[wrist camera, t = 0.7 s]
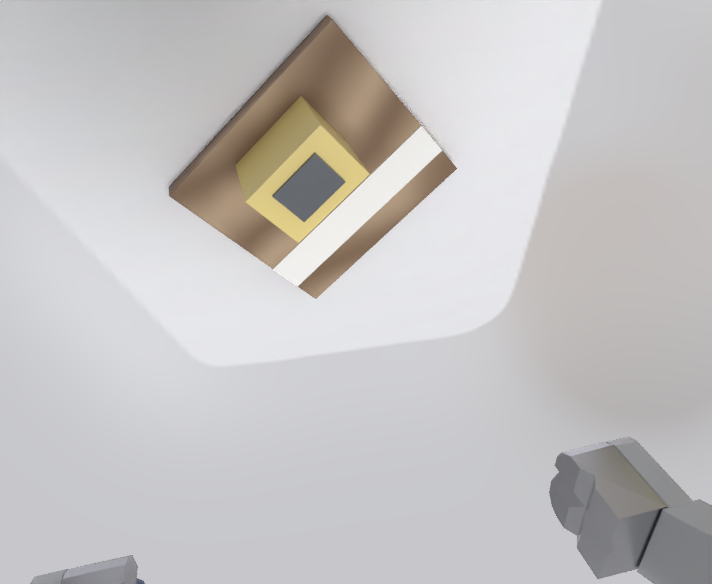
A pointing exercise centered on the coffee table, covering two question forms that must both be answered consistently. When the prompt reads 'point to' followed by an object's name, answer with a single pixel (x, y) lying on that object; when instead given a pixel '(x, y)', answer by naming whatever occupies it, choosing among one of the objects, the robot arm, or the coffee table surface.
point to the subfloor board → (355, 125)
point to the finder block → (299, 171)
